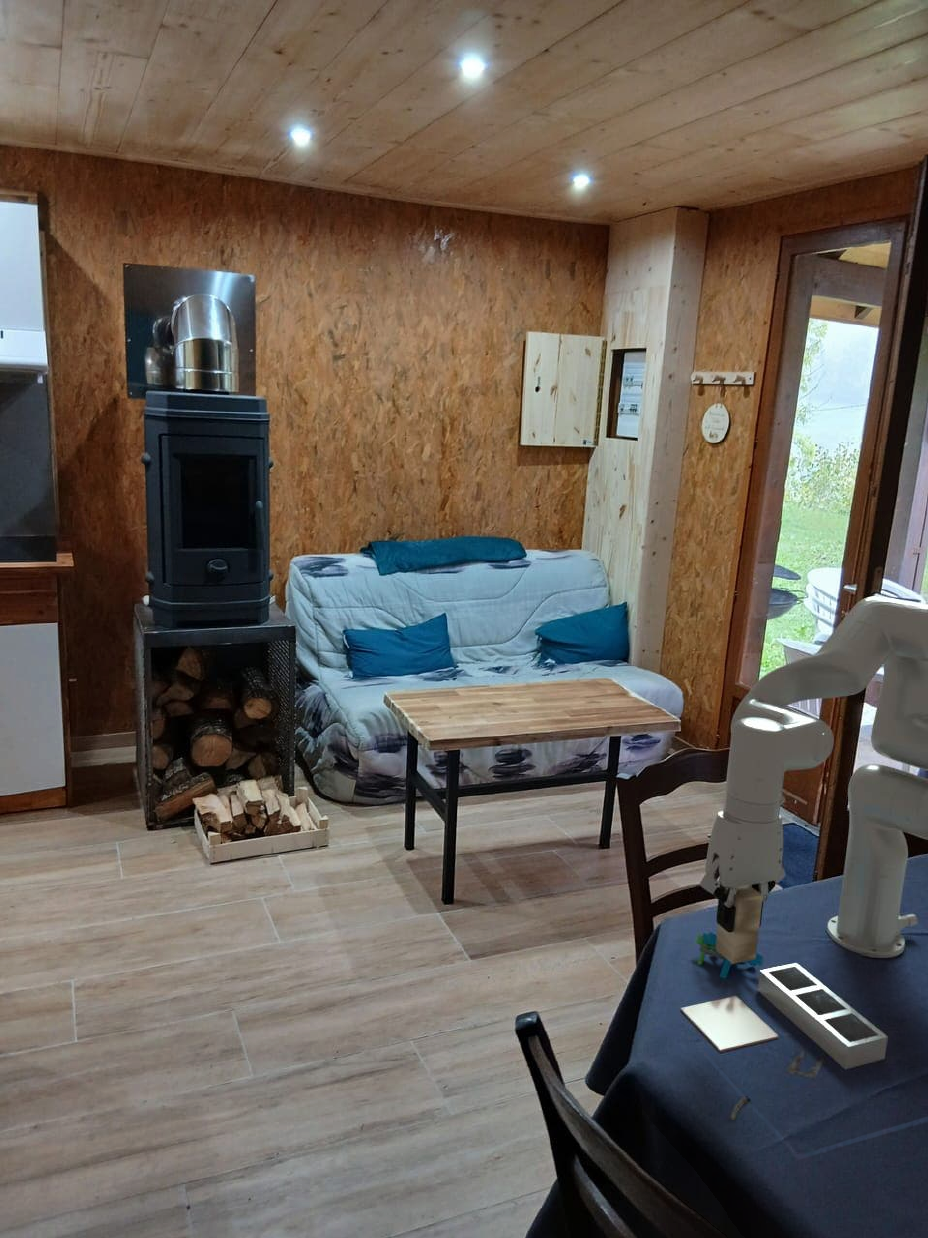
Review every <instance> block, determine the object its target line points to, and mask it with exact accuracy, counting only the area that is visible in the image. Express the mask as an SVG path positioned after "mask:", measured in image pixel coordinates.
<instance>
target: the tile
mask: <svg viewBox="0 0 928 1238" xmlns="http://www.w3.org/2000/svg"><path fill="white" fill-rule="evenodd" d="M680 1011H681V1012H682V1013H683V1014H684V1015H685V1017H686V1018H687V1019H688V1020H689V1021H690V1022H691V1023H692V1024H693V1025H694V1026H695V1027H696V1028H697V1029H698V1030H699V1031H700V1032H701V1034H702V1035H704V1036H705V1038H706V1039H708V1041H709V1042H710V1043H711V1044H712V1045H713V1046H714V1047H715V1048H716V1049H717V1050H718V1052H720V1053H721V1052H726V1051H730V1050H734V1049H739V1048H742V1047H747V1046H750V1045H755V1044H759V1043H764V1042H767V1041H771V1040H775V1039H778V1038H779V1035H778V1034H777V1032H776V1031H774V1030H773V1029H772V1028H771V1027H770V1026H769V1025H768V1024H767V1023H766V1022H764V1021H763V1019H762V1018H760V1017H759V1016H758V1015H757V1014H756V1013H755V1012H754V1011H753V1010H752V1009H751V1008H749V1007H748V1006H747V1004H745V1003H744V1001H742V1000H741V999H740V997H738V996H737V995H734V996H730V997H726V998H721V999H716V1000H711V1001H706V1002H703V1003H702V1002H701V1003H697V1004H693V1005H689V1006H684V1007H680Z"/></svg>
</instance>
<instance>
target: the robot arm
mask: <svg viewBox="0 0 928 1238" xmlns="http://www.w3.org/2000/svg"><path fill="white" fill-rule="evenodd" d="M882 666H883V678H882V684H881V689H880V694H879V698H878V701H877V706H876V711H875V715H874V719H873V724H872V728H871V736H870V743H871V747H872V748H873V750H874V751H875V752H876V753H877V754H879V755H880V756H882V757H884V758H886V759H890V760H893V761H895V762H899V763H901V764H906V765H909V766H912V767H915V768H918V769H921V770H924V771H928V603H925V602H919V601H914V600H913V601H912V600H909V599H908V600H906V599H901V598H895V597H889V596H879V595H875V596H872V595H871V596H868V597H865V598H862V599H861V600H859V601H858V602H857V603H856V604H854V606H853V607H852V608H851V609H850V610H849V612H848V613H847V614H846V616H844V618H843V619H842V620H841V622H840V623H839V625H838V626H837V627H836V628H835V629H834V631H833V632H832V633H831V634H830V636H829V637H828V639H827V640H826V641H824V643H823V644H822V646H821V647H820V648H819V650H818V651H816V653H813V654H812V655H807V656H805V657H802V658H799V659H797V660H794V661H792V662H789V663H787V664H785V665H782V666H780V667H777V668H776V669H774V670H772V671H770V672H768V673H767V674H765V675H764V676H762V677H761V678H760V679H758V681H757V682H756V683H755V684H754V685H753V686H752V688H751V689H750V690H749V691H748V693H746V695H745V696H744V697H743V699H742V700H741V702H740V703H739V705H738V707H737V708H736V710H735V712H734V713H733V716H732V719H731V723H730V733H731V735H730V744H729V752H728V753H729V754H728V760H727V761H728V763H727V764H728V765H727V772H726V781H725V791H724V801H723V810H721V811H718V812H717V814H716V817H715V821H714V822H713V825H712V829H711V833H710V837H709V842H708V847H707V855H706V861H705V870H704V871H705V874H704V876H703V878H702V879H701V880H700V882H699V885H700V887H702V889H704V890H705V891H706V892H708V893H710V894H712V895H713V896H714V897H715V899H716V900H718V901H717V908H716V909H717V910H716V923H717V924H719V925H720V926H721V927H722V928H724V929H725V930H726V931H727V932H728V933H730V932H733V928H734V919H735V910H736V907H735V906H733V902H734V899H735V895H736V891H737V888H738V887H740V886H747V885H750V886H751V887H752V888H754V889H755V890H756V891H758V892H759V893H760V894H762V895H763V899H762V907H761V916H760V925H759V928H760V927H762V918H763V912H764V911H763V910H764V902H767V901H768V900H769V894H770V893H771V891H772V890H774V888H775V887H776V884H777V885H778V883H780V882H781V881H782V880H783V879H784V878H785V877H786V871H785V869H784V867H783V857H784V856H783V855H784V853H783V852H784V829H783V819H782V816H781V814H780V813H781V805H783V804H785V803H786V798H785V797H786V796H785V795H784V794H782V793H783V786H784V780H785V779H784V778H785V772H786V771H796V770H797V771H798V770H800V771H801V770H809V769H813V768H816V767H818V766H820V765H822V764H823V763H824V762H825V761H826V760H827V759H828V758H829V757H830V755H831V753H832V751H833V749H834V744H835V738H834V733H833V731H832V729H831V727H830V725H828V724H827V723H826V722H825V721H823V720H822V719H820V718H817V717H815V716H812V715H809V714H805V713H801V712H799V711H796V710H791V709H789V708H786V707H788V706H790V705H792V704H795V703H798V702H802V701H809V700H818V699H820V700H821V699H832V698H840V697H849V696H852V695H853V696H854V695H856V694H859V693H861V692H862V691H864V689H866V687H868V685H869V684H870V682H871V681H872V679H873V678H874V677H875V676H876V674H877V673H878V672H879V670H880V669H881V668H882ZM847 791H848V792H847V797H848V798H847V799H848V809H849V827H848V828H849V829H848V836H847V837H848V838H847V847H846V853H845V854H846V855H845V860H844V861H845V862H844V867H843V869H844V870H843V877H842V884H841V892H840V898H839V899H840V900H839V907H838V915H836V916H834V917H832V918H830V919H829V920H828V922H827V924H826V933H827V934H828V935H829V937H830V939H831V940H833V941H834V942H835V943H837V944H838V945H839V946H841V947H843V949H844V948H845V949H847V950H849V951H850V952H854V953H857V954H859V955H860V956H864V957H868V958H873V959H874V958H875V959H890V958H895V957H897V956H899V955H901V954H902V953H903V952H904V951H905V946H906V940H905V937H904V936H903V935H902V934H901V931H903V929H905V927H912V926H916V925H917V924H918V917H917V916H916V914H914V913H909V914H904V915H902V916H901V913H900V911H901V905H902V899H903V890H904V885H905V878H906V877H905V876H906V871H907V870H906V869H907V865H908V858H909V851H908V844H907V839H906V837H905V835H904V833H906V834H910V835H913V836H915V837H917V838H920V839H923V840H926V841H928V778H927V777H926V778H925V777H923V776H920V775H916V774H914V773H911V772H908V771H904V770H902V769H898V768H896V767H891V766H889V765H884V764H878V763H877V764H876V763H869V764H865V765H862V766H860V767H858V768H857V769H855V771H854V772H853V773H852V775H851V777H850V779H849V783H848V788H847ZM716 882H718V883H717V885H716ZM726 888H728V889H727V893H726V894H725V890H726Z"/></svg>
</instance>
